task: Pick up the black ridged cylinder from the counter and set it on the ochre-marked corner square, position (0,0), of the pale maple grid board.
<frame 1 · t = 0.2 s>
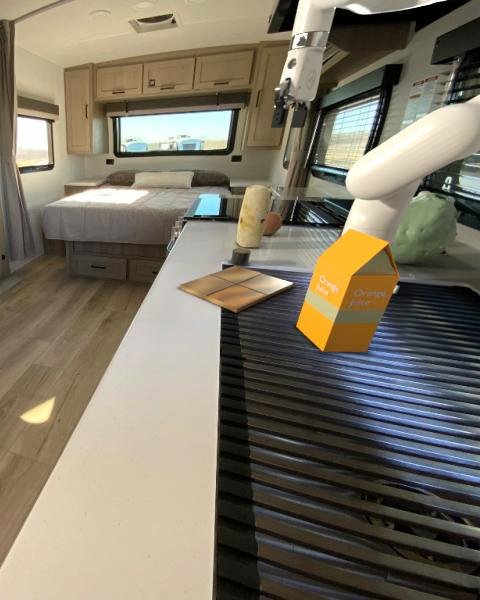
hand: (287, 127, 85), 36 cm above the worktop, tool pointing down, fingers open, 9 cm apart
orange juice: (328, 339, 63), on the worktop
black ridged cylinder: (239, 263, 100), on the worktop
food model: (246, 246, 116), on the worktop
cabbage: (402, 263, 98), on the worktop
grid board: (235, 287, 84), on the worktop
onion: (264, 235, 128), on the worktop
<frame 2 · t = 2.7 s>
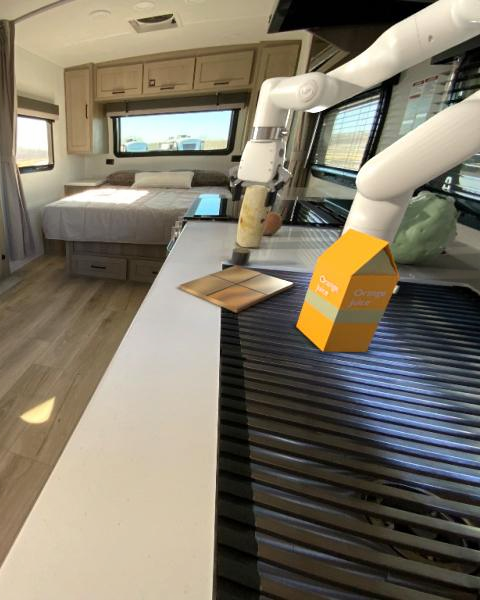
hand: (251, 203, 92), 18 cm above the worktop, tool pointing down, fingers open, 9 cm apart
nothing on the worktop moved.
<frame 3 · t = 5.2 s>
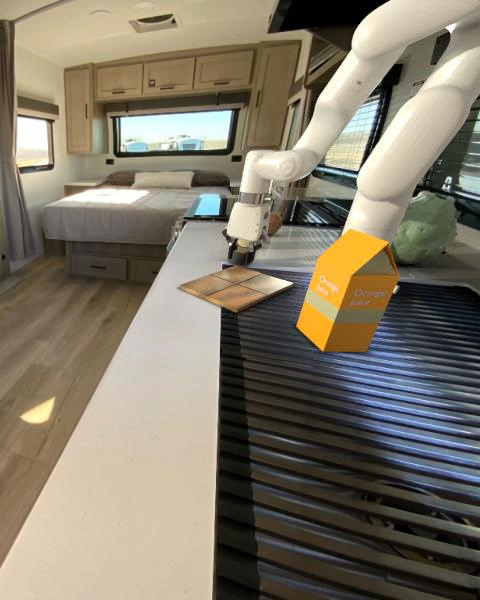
hand: (239, 260, 99), 1 cm above the worktop, tool pointing down, fingers closed on black ridged cylinder, 4 cm apart
black ridged cylinder: (239, 263, 100), on the worktop, touching gripper
everything else where it was.
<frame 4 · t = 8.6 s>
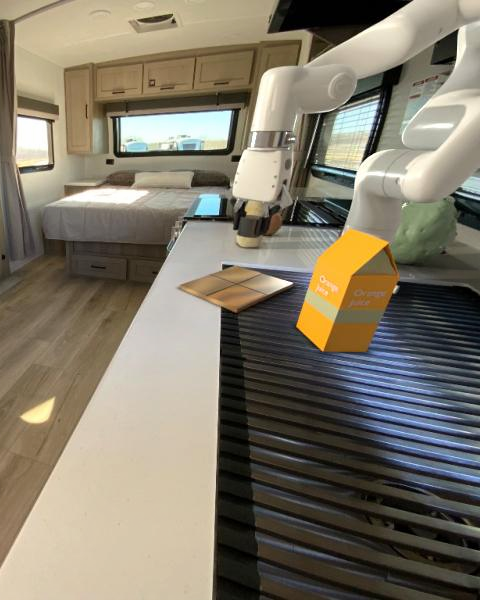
hand: (249, 231, 74), 16 cm above the worktop, tool pointing down, fingers closed on black ridged cylinder, 4 cm apart
black ridged cylinder: (248, 235, 74), point 15 cm above the worktop, touching gripper
everything else where it was.
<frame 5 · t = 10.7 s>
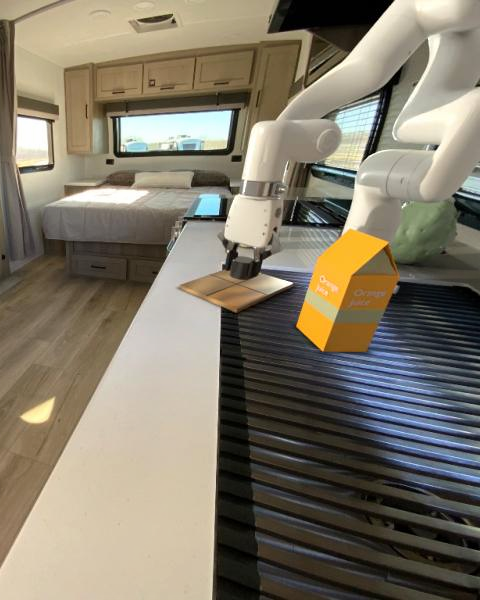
hand: (240, 272, 75), 7 cm above the worktop, tool pointing down, fingers closed on black ridged cylinder, 4 cm apart
black ridged cylinder: (240, 276, 75), point 6 cm above the worktop, touching gripper
everything else where it was.
when the fingers open (2 cm above the worktop, at t = 12.3 s): black ridged cylinder stays where it is, resting on grid board.
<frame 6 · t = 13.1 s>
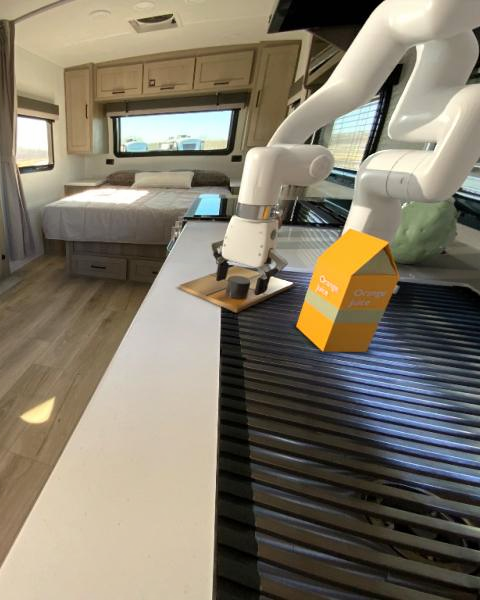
hand: (239, 286, 77), 3 cm above the worktop, tool pointing down, fingers open, 9 cm apart
black ridged cylinder: (236, 295, 77), point 1 cm above the worktop, touching grid board
everything else where it was.
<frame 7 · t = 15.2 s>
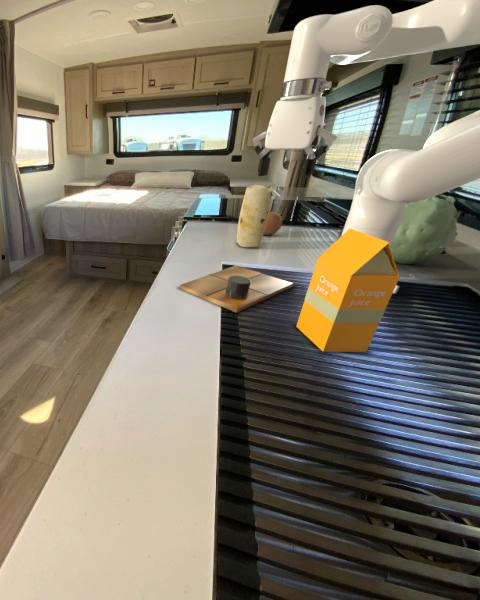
hand: (283, 176, 78), 26 cm above the worktop, tool pointing down, fingers open, 9 cm apart
nothing on the worktop moved.
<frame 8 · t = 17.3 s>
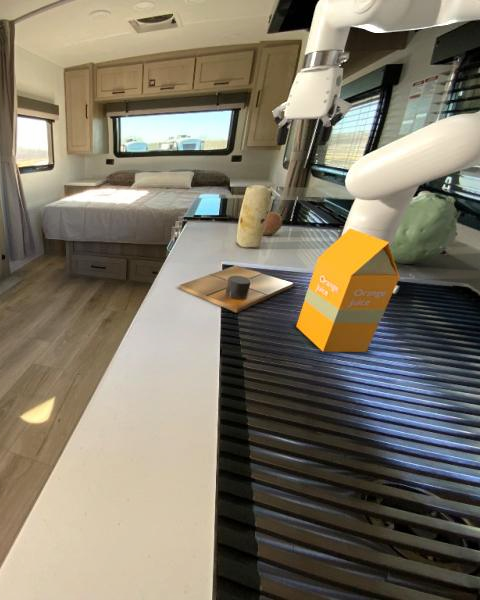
hand: (300, 145, 84), 32 cm above the worktop, tool pointing down, fingers open, 9 cm apart
nothing on the worktop moved.
at the end: black ridged cylinder inside the target area on the grid board (0.2 cm from its centre), point 1.1 cm above the grid board's base; black ridged cylinder tilted 0°; the gripper is holding nothing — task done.
